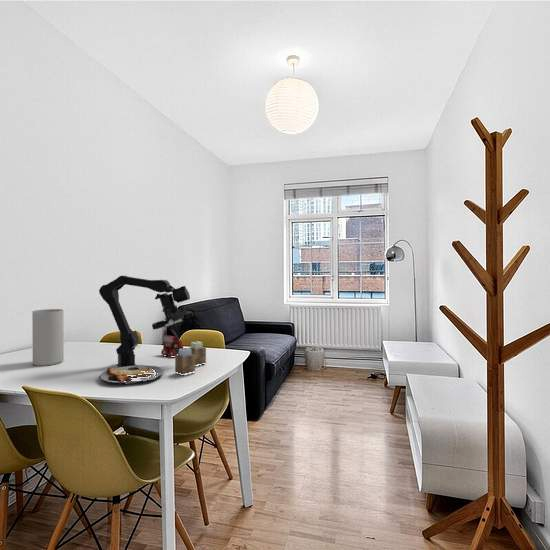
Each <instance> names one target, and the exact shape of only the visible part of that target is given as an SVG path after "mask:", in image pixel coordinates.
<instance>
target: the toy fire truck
mask: <svg viewBox="0 0 550 550" xmlns="http://www.w3.org/2000/svg"><path fill="white" fill-rule="evenodd" d="M162 341H163V348H162V349H161V352H160V353H161V355H162V354H163V355H168V354H169V355H170V356H175V355H177V354H179V349H183V348H184V346H183V343H182V340H181V339H180V337H179V338H177V337H176V336H175V335H163V336H162ZM169 355H168V356H169ZM170 356H169V357H170Z"/></svg>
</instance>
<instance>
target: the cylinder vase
mask: <svg viewBox="0 0 550 550" xmlns="http://www.w3.org/2000/svg"><path fill="white" fill-rule="evenodd" d="M31 314H32V316H31V318H32V319H31V320H32V325H31V326H32V327H31V328H32V331H31V333H32V334H31V335H32V364H33V365H34V366H37V367H38V366H39V367H45V366H46V365H48V366H53V365H57V364H61V363H62V362H64V357H65V356H64V355H65V353H64V348H65V347H64V344H65V343H64V334H65V333H64V309H62V308H53V309H51V308H48V309H46V308H45V309H36V310H33V311H31ZM46 367H47V366H46Z"/></svg>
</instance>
